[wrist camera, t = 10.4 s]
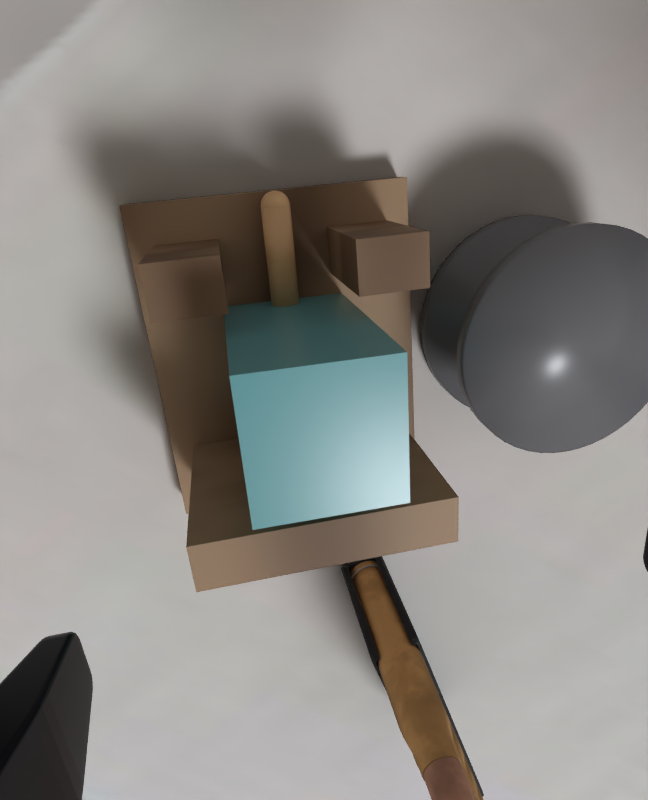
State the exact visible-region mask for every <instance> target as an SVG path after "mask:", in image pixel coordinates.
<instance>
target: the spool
mask: <svg viewBox="0 0 648 800" xmlns="http://www.w3.org/2000/svg"><path fill="white" fill-rule="evenodd" d="M421 341H422V347H423V351H424V356H425V358H426V361H427V364H428V366H429V368H430V370H431V372H432V374H433V375H434V377H435V378H436V380H437V381H438V382H439V383H440V385H441V386H442V387H443V388H444V389H445V390H446V391H447V392H449V393H450V394H451V395H452V396H453V397H454V398H455V399H457V400H458V401H460V402H461V403H462V404H464V405H466V406H468V407H470V409H471V411H472V412H473V413H474V415H475V416H476V417H477V418H478V420H479V421H480V422H481V423H483V424H484V425H485V426H486V427H487V428H488V429H489V430H490V431H491V432H492V433H493V434H494V435H496V436H497V437H499V438H500V439H501V440H503V441H504V442H506V443H508V444H510V445H512V446H515V447H517V448H520V449H523V450H527V451H532V452H539V453H557V452H565V451H570V450H574V449H579V448H582V447H584V446H587V445H590V444H593V443H595V442H597V441H599V440H601V439H603V438H605V437H607V436H608V435H610V434H611V433H613V432H615V431H616V430H618V429H619V428H620V427H622V426H623V425H624V424H626V423H627V422H628V421H629V420H631V419H632V418H633V417H634V416H635V415H636V414H637V413H638V412H639V411H640V410H641V409H642V408H643V407H644V406H645V404H646V403H647V402H648V239H647V238H646V237H644V236H643V235H641V234H639V233H637V232H635V231H633V230H631V229H627V228H624V227H620V226H617V225H608V224H600V223H591V222H586V223H572V224H570V223H568V222H566V221H563V220H560V219H556V218H551V217H543V216H534V215H526V216H515V217H510V218H505V219H502V220H499V221H496V222H493V223H491V224H489V225H487V226H485V227H483V228H481V229H479V230H478V231H476V232H475V233H473V234H472V235H470V236H469V237H468V238H466V239H465V240H464V241H463V242H462V243H460V244H459V245H458V246H457V247H456V248H455V249H454V250H453V251H452V253H451V254H450V255H449V256H448V257H447V258H446V260H445V261H444V262H443V264H442V265H441V267H440V268H439V270H438V272H437V273H436V275H435V277H434V278H433V280H432V283H431V285H430V288H429V290H428V292H427V295H426V299H425V302H424V305H423V311H422V317H421Z"/></svg>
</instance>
